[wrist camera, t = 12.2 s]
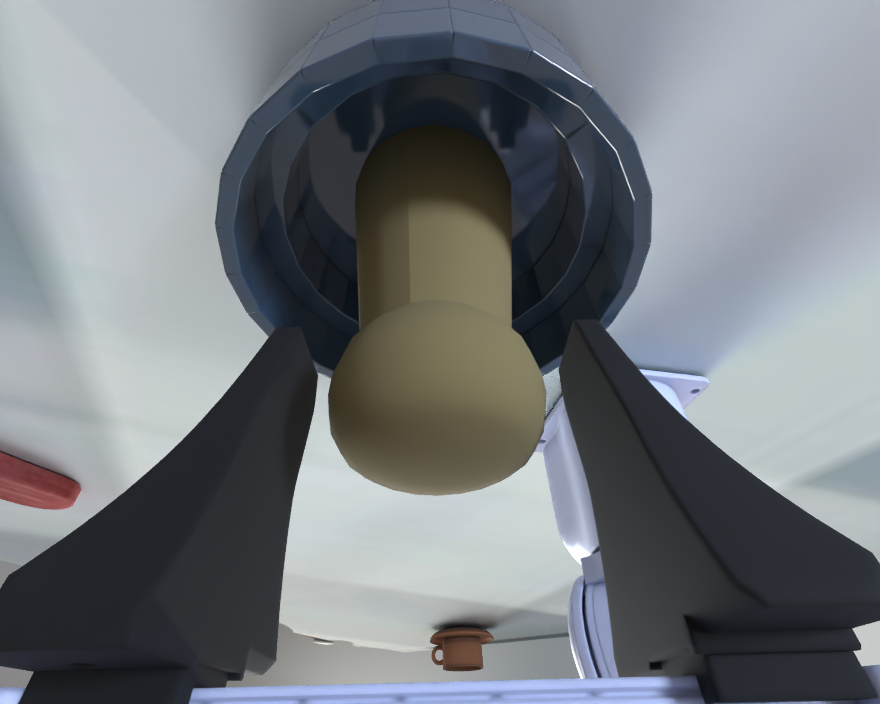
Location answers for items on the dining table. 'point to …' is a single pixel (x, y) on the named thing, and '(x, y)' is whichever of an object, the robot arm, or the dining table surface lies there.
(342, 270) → the dark blue bowl
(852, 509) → the dining table surface
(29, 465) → the popsicle
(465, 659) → the cup and saucer
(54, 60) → the dining table surface
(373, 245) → the cork
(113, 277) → the dining table surface
